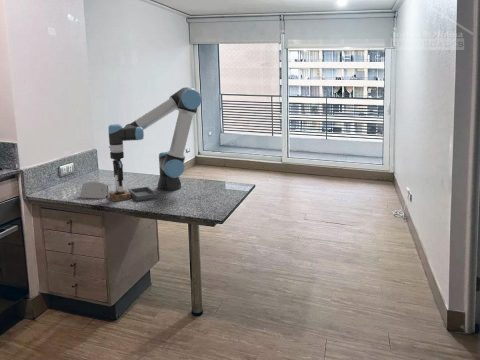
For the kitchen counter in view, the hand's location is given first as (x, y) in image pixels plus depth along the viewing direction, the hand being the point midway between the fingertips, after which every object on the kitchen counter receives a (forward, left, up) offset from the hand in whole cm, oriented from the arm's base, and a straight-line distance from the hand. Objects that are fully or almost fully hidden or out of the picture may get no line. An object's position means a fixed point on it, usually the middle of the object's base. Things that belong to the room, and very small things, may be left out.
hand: (119, 190), depth 271 cm
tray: (-13, +3, -5) cm, 14 cm away
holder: (0, 0, -5) cm, 5 cm away
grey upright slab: (+12, -11, -5) cm, 17 cm away
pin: (0, 0, -5) cm, 5 cm away
